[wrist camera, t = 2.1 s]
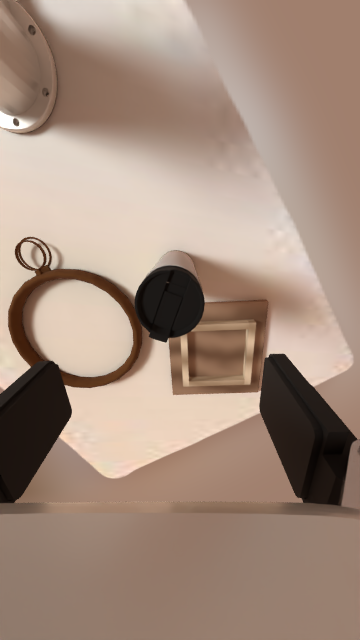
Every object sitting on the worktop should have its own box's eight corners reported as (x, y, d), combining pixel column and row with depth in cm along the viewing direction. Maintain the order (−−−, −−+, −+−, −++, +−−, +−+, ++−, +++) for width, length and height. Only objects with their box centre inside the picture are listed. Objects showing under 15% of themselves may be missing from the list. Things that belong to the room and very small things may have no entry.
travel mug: (152, 281, 38) (123, 330, 19) (164, 244, 35) (144, 258, 17) (185, 294, 38) (189, 352, 20) (199, 258, 36) (218, 286, 17)
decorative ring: (83, 207, 31) (160, 370, 42) (91, 209, 34) (162, 362, 44) (-51, 266, 34) (53, 403, 45) (-33, 264, 37) (60, 393, 48)
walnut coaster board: (166, 304, 39) (165, 308, 37) (266, 299, 39) (271, 304, 36) (173, 391, 47) (172, 399, 44) (256, 388, 46) (260, 397, 44)
